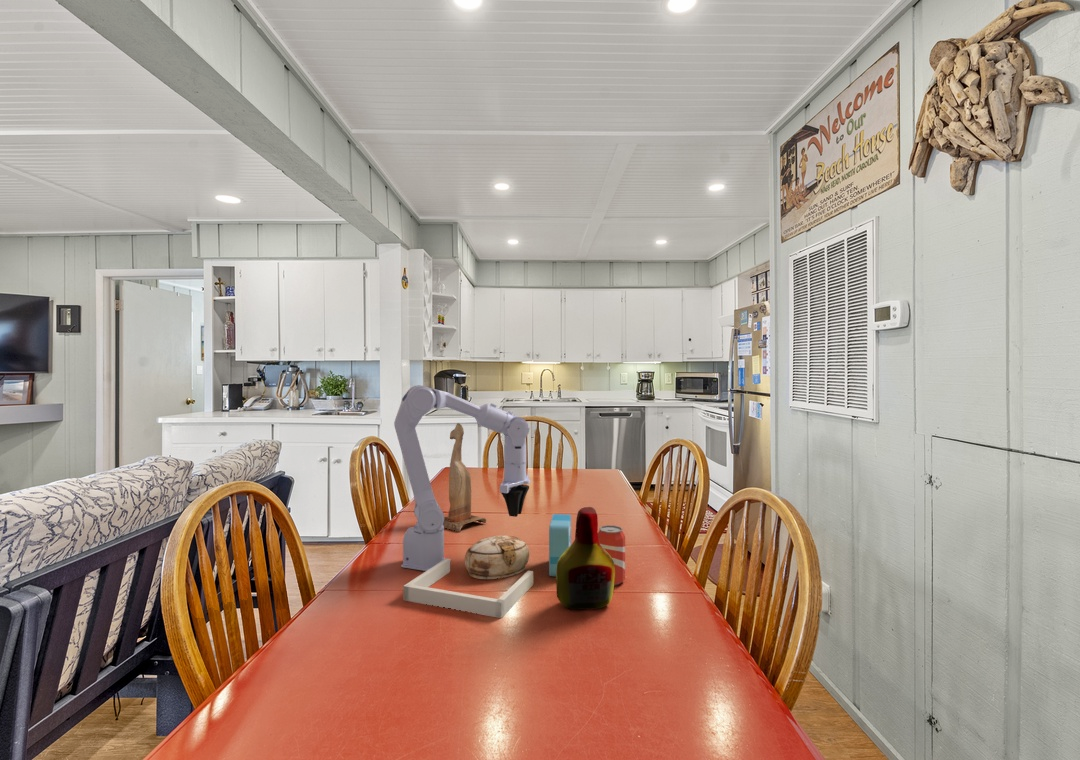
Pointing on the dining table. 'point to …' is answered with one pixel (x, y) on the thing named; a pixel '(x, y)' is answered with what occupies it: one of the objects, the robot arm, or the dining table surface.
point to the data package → (558, 539)
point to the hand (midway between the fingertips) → (515, 514)
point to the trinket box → (497, 557)
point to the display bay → (460, 601)
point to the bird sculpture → (459, 487)
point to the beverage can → (614, 548)
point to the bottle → (585, 567)
